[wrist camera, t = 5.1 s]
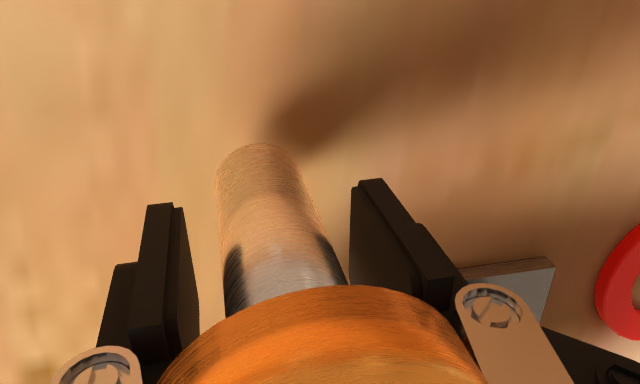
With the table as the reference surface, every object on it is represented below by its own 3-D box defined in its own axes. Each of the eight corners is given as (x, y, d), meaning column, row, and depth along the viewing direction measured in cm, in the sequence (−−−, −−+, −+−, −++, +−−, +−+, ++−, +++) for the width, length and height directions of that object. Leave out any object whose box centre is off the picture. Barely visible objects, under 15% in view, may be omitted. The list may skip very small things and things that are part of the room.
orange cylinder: (155, 108, 13) (72, 482, 4) (342, 93, 14) (585, 370, 5) (183, 262, 15) (169, 690, 7) (339, 241, 16) (498, 587, 8)
